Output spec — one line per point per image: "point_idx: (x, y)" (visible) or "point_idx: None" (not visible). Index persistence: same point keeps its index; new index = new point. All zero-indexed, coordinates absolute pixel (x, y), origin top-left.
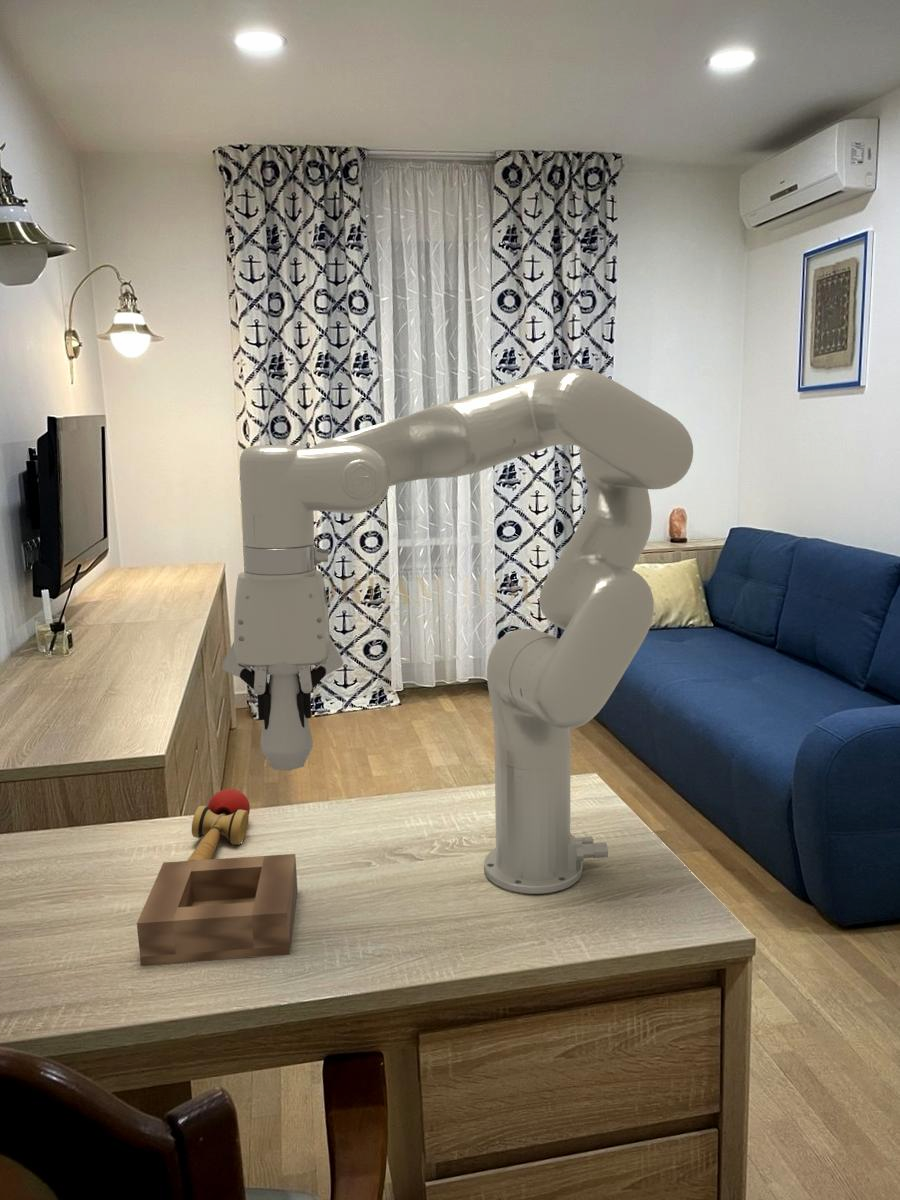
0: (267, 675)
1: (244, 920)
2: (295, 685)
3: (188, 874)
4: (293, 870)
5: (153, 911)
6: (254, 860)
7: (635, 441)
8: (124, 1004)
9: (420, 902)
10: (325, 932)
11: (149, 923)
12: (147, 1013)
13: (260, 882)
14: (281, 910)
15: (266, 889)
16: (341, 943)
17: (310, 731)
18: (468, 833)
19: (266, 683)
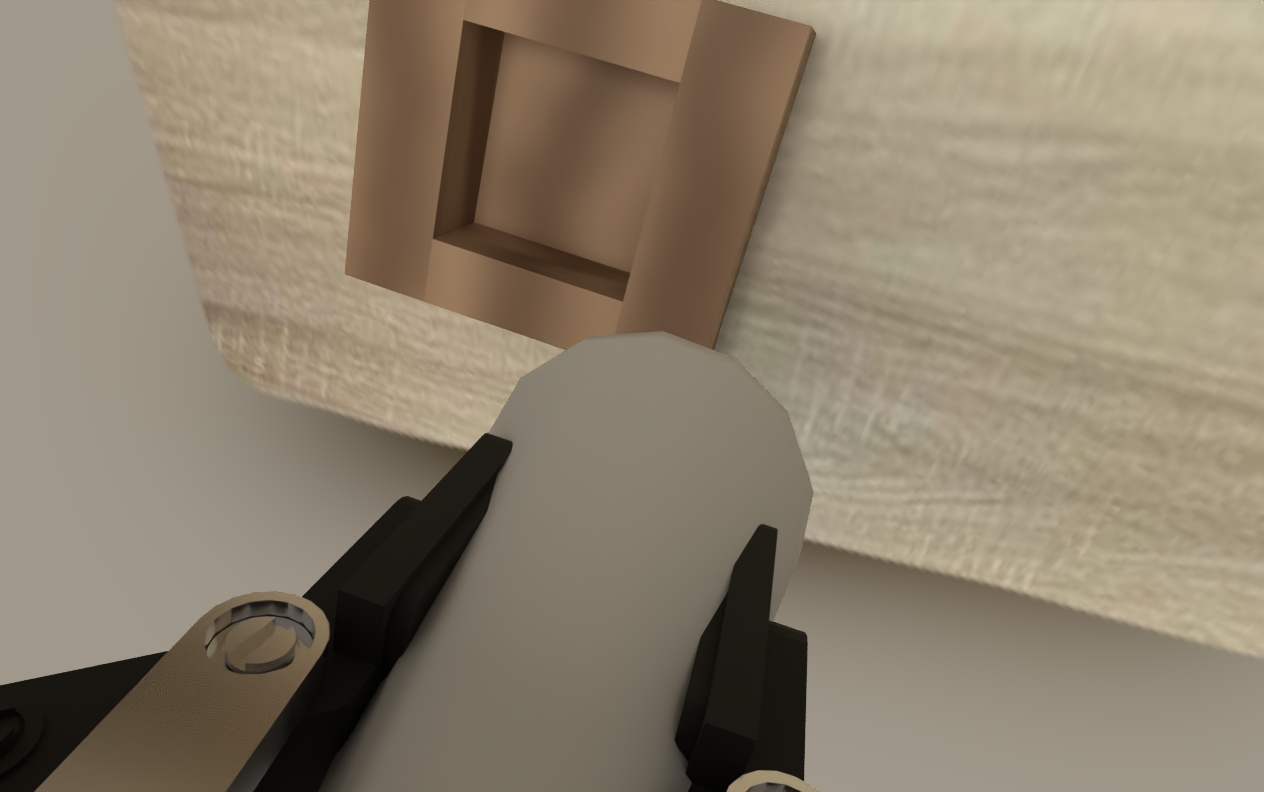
0: (268, 741)
1: None
2: None
3: (456, 40)
4: (776, 136)
5: (376, 233)
6: (664, 21)
7: None
8: (386, 371)
9: (1143, 267)
10: (820, 300)
11: (373, 283)
12: (427, 417)
13: (657, 193)
14: None
15: (666, 246)
16: (841, 364)
17: (782, 597)
18: None
19: (302, 763)
